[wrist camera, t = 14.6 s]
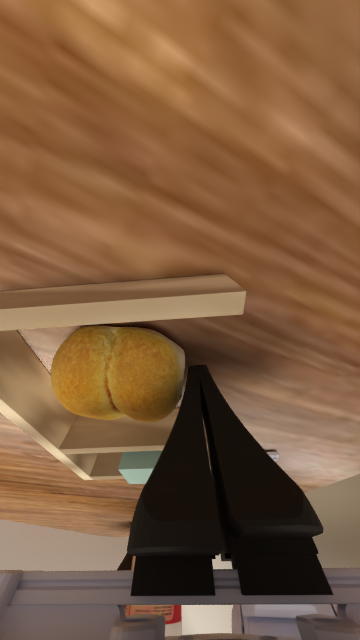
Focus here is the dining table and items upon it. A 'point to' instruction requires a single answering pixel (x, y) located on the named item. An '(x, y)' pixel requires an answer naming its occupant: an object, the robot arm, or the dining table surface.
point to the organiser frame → (87, 309)
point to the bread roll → (118, 373)
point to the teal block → (138, 465)
